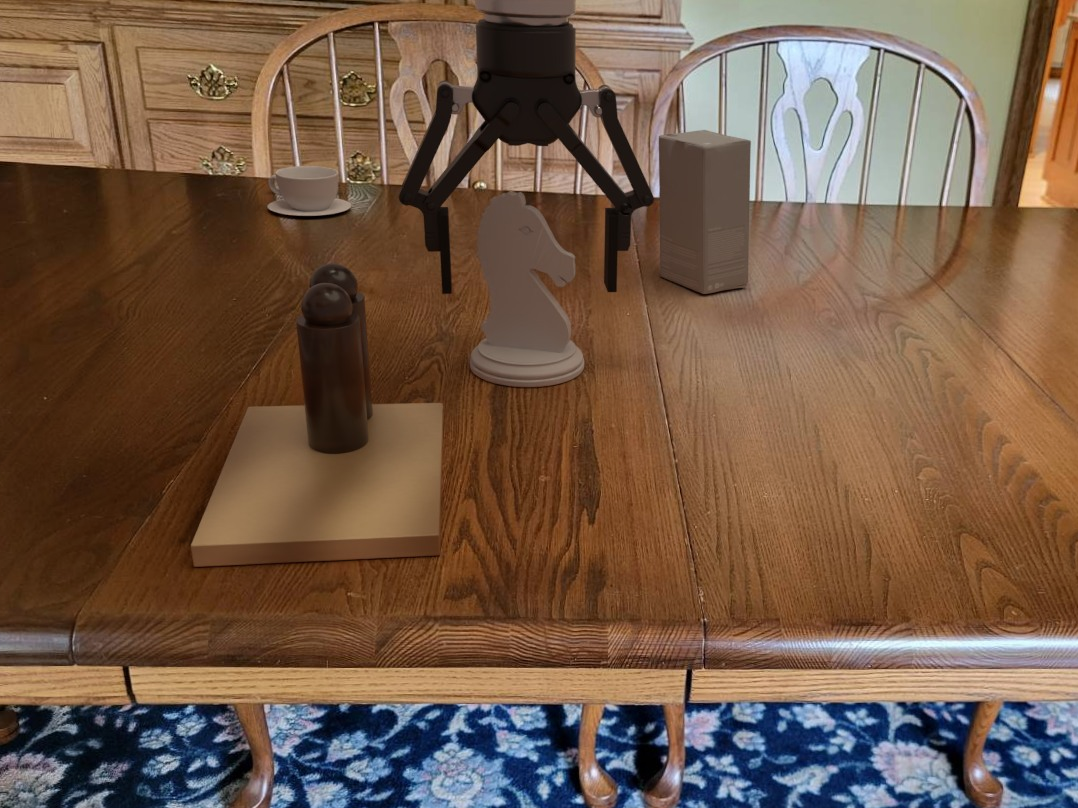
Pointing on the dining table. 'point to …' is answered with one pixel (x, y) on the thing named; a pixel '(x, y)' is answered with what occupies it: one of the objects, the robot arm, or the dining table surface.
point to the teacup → (307, 191)
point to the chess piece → (523, 299)
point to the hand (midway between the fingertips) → (529, 288)
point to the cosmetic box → (704, 210)
